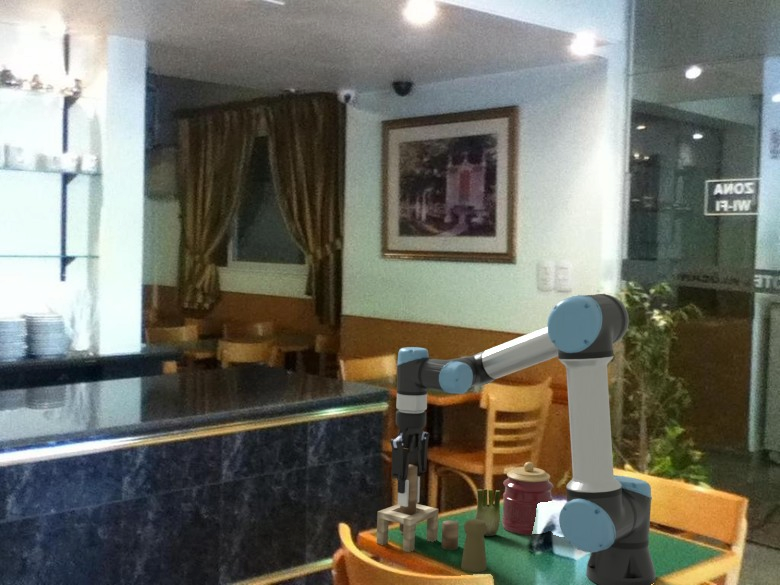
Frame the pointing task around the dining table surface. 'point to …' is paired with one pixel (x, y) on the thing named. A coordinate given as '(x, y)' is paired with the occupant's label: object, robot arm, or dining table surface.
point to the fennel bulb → (489, 510)
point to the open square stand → (407, 524)
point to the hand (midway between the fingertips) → (408, 503)
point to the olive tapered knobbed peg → (474, 546)
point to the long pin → (410, 493)
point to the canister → (524, 497)
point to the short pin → (450, 534)
